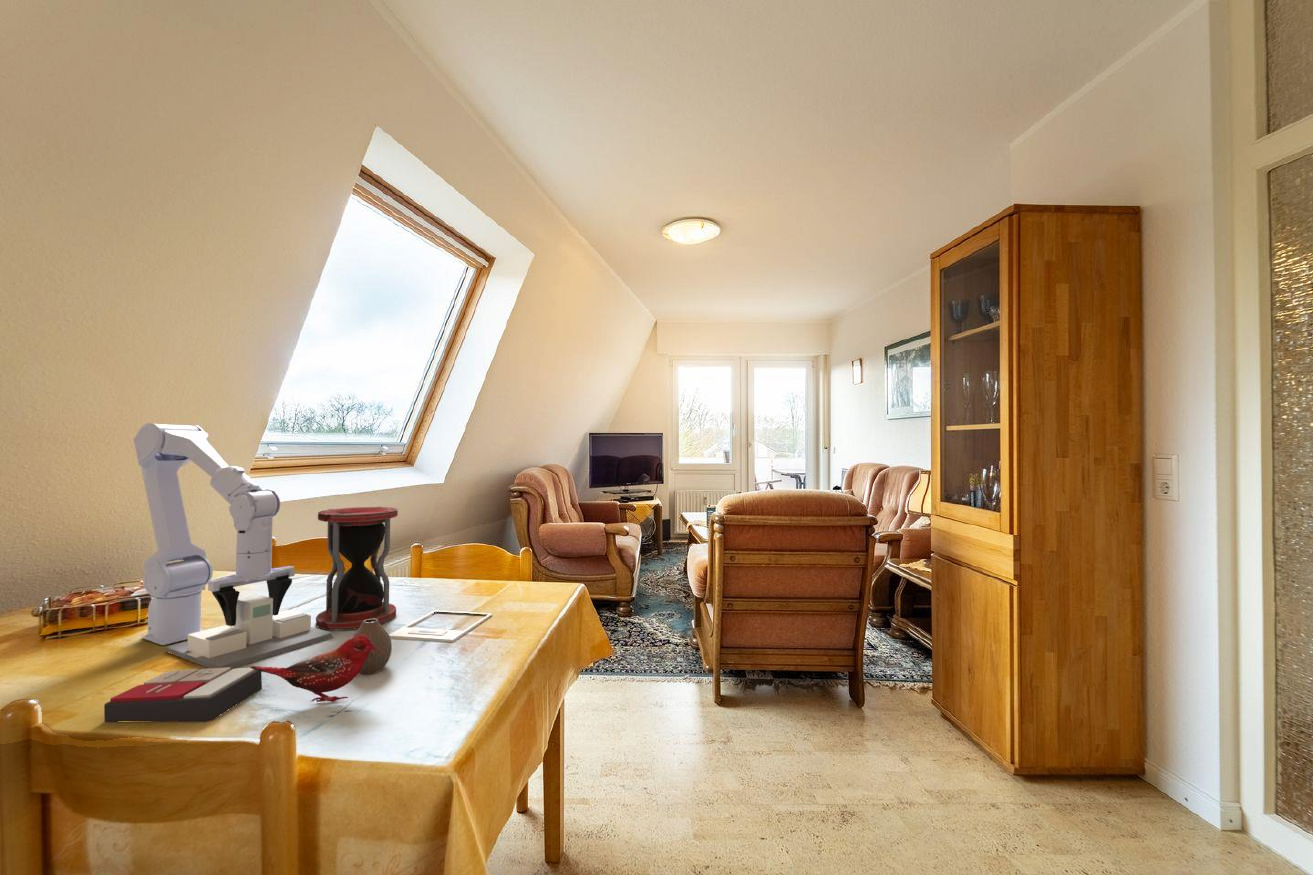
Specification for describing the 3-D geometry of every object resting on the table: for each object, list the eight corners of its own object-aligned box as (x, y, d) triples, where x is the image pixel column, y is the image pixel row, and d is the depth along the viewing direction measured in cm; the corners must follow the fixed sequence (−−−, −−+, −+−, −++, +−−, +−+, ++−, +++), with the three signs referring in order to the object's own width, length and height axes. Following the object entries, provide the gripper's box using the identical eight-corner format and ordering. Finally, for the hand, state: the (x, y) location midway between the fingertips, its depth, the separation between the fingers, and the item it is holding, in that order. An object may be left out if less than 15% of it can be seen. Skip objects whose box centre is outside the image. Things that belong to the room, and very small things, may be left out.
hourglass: (349, 607, 134) (351, 505, 135) (410, 610, 132) (411, 507, 132) (297, 628, 118) (299, 513, 119) (365, 632, 116) (367, 514, 116)
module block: (233, 639, 108) (234, 598, 108) (255, 633, 112) (256, 594, 112) (250, 644, 105) (250, 603, 105) (272, 638, 109) (273, 598, 109)
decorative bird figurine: (373, 701, 84) (374, 636, 85) (243, 712, 81) (245, 644, 81) (378, 693, 87) (380, 630, 87) (253, 703, 83) (255, 638, 84)
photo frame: (387, 634, 113) (435, 609, 131) (386, 639, 113) (434, 614, 131) (452, 638, 111) (492, 612, 128) (452, 644, 111) (492, 617, 128)
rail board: (165, 651, 104) (165, 629, 104) (278, 622, 122) (278, 603, 122) (219, 672, 95) (219, 647, 95) (332, 637, 113) (333, 617, 113)
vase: (346, 681, 92) (347, 628, 92) (348, 666, 98) (348, 617, 98) (391, 673, 95) (392, 623, 95) (390, 660, 101) (391, 612, 101)
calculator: (168, 667, 89) (262, 662, 89) (169, 694, 89) (263, 689, 89) (101, 699, 78) (209, 693, 78) (102, 729, 78) (210, 723, 78)
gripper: (222, 559, 101) (220, 633, 100) (303, 547, 114) (302, 612, 113) (203, 555, 104) (201, 627, 104) (284, 544, 117) (283, 608, 116)
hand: (252, 619), depth 109 cm, fingers open, 7 cm apart
